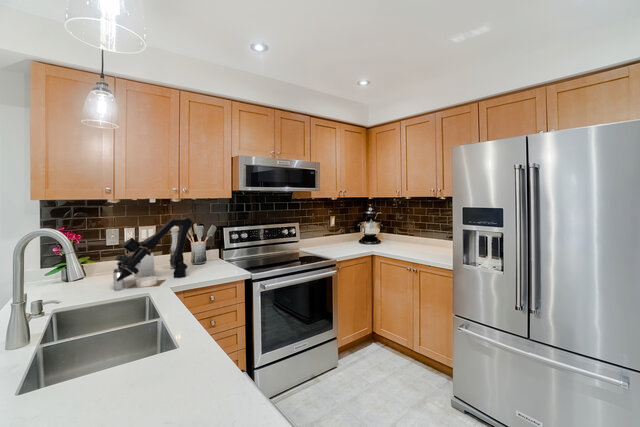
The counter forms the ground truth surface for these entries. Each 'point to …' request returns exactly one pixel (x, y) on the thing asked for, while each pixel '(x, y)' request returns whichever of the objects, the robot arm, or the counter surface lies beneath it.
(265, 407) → the counter surface
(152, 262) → the supplement box
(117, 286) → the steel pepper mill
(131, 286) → the walnut board
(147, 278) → the ceramic ring
